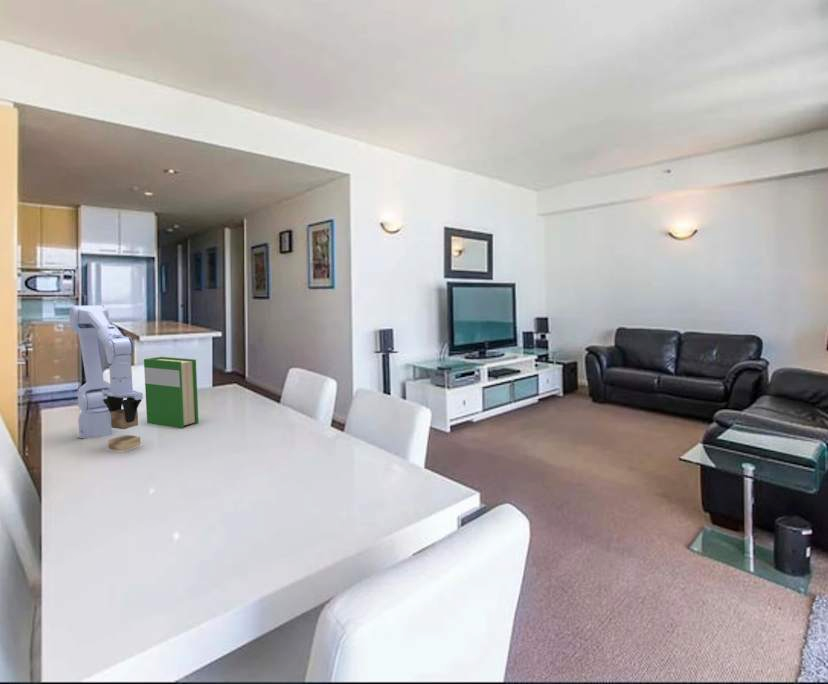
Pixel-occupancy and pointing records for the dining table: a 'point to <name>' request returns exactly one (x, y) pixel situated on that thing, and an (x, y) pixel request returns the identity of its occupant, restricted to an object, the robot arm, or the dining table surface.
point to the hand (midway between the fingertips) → (123, 420)
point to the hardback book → (171, 391)
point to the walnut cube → (122, 420)
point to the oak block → (124, 442)
